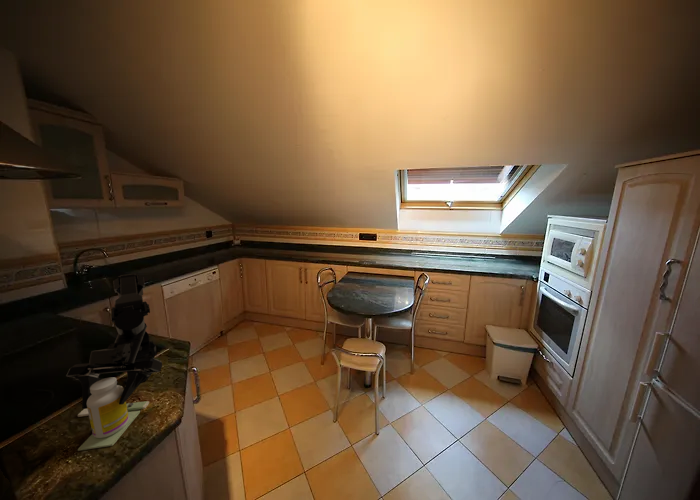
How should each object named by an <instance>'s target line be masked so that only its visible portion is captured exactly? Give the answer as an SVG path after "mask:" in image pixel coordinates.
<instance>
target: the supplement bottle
mask: <svg viewBox="0 0 700 500" xmlns="http://www.w3.org/2000/svg"><path fill="white" fill-rule="evenodd" d="M101 379H102V380H100V381H97V382H96V383H94V384H93V385H92V386H91V387H90V393H91V394H92V395H91V396H90V397H89V398H88V400H87V409H88V413H89V416H88V417H89V423H90V426H91V427H90V428H91V432H92V433H91V434H93V436H94V437H96V438H104V437H107V436H110V435H112V434H114V433H116V432H118V431H119V430H120V429H122V428H123V427H124V426H125V425H126V424H127V422H128V420H129V416H128V412H129V411H128V410H127V405H126V404H127V402H126V401H127V400H126V401H125V403H124V404H122V405H120V404H119V402H120V398H121V395H122V393H123V390H124V387H123V386H122V385H120V384H118V381H117V380H118V379H117V377H113V376H109V377H105V378H101Z"/></svg>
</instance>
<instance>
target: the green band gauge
mask: <svg viewBox="0 0 700 500" xmlns="http://www.w3.org/2000/svg"><path fill="white" fill-rule="evenodd" d="M149 404H150V400H149V401H139V402H138V401H137V402H128V403H127V402H126V405H127V410H128V416H129V420H128V422H127V424H126V425H125V426H124V427H123V428H122V429H120V430H119V431H118V432H116V433H114V434H112V435H110V436H107V437H104V438H96V437H94V436H93V433H91V435H90V436H89V437H87V439H86V440H85V441H84V442H83V443H82V444H81V445H80V446H79V447H78V449H77V451H78V452H79V451H86V450H91V449H98V448H105V447H106V448H107V447H112V446H114V444H115V443H116V442H117V441H118V440H119V439H120V437H122V435H123V434H124V433H125V432H126V430H127V429H128V428H129V426H130V425H131V424H132V423H133V422H134V420H135V419H136V418H137V416H138V415H139V414H140V413H141V410H145V409H146V408H147V407H148V406H149ZM87 416H88V417H89V413H88V409H83V410H81V411H80V412H79V413H78V414H77V417H78V418H79V417H87Z"/></svg>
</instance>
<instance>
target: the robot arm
mask: <svg viewBox="0 0 700 500" xmlns="http://www.w3.org/2000/svg"><path fill="white" fill-rule="evenodd" d="M112 282H113V283H112V285H113V290H114V293H117V296H118V298H116V299H115V301H114V306H113V307H111V322H112V323H114V326H115V328H116V331H117V333H118V334H117V336H116V339H115V340H114V342H112V343H110V344H109V345H108V346H107V348H104V349H98V350H91V352H90V356H89V362H88V363H75V364H74V365H72V366H71V367H69V369H68V371H67V374H66V375H65V377H67V378H68V377H69V378H73V379H74V380H76V381H79V383H80V384H81V389H82V395H81V398H82V399H81V402H82V404H81V405H82V406H81V408H82V409H83V410H84V409H87V400H88V398H89V397H90V396H91V395H92V394H91V393H90V387H91V386H92V385H93V384H94V383H96V382H97V381H100V380H102V379H103V378H100V376H101V375H102V374H103V375H104V374H111V373H113V374H114V373H122V372H126V375H127V377H126V379H124V380H123V384H125V385H124V387H123V389H124V390H123V393H122V395H121V398H120V402H119V404H120V405H122V404H124V403H125V401H127V400H128V399H129V398H130V396H131V395H132V394H133V393H134V392H135V391H136V389H137V388H138V387H139V386H140V385H141V384H142V383H143V382H146V381H147V380H148V379H149V378H150V377H151V376H152V375H153V374H154V373H160V372H162V367H163V362H162V360H159V359H157V358H155V357H156V356H157V345H156V343H155V342H154V341H153V340H150V335H149V333H148V332H147V331H146V330H147V328H148V326H147V323H146V322H145V316H148V315H149V314H150V313H151V309H150V304H148V302H147V301H144V299H143V295H144V289H145V288H146V283H145V277H144V276H141V275H138V274H137V273H127V274H120V275H118V276H117V278H116V279H114V280H113V281H112ZM152 373H153V374H152ZM151 374H152V375H151Z"/></svg>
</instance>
